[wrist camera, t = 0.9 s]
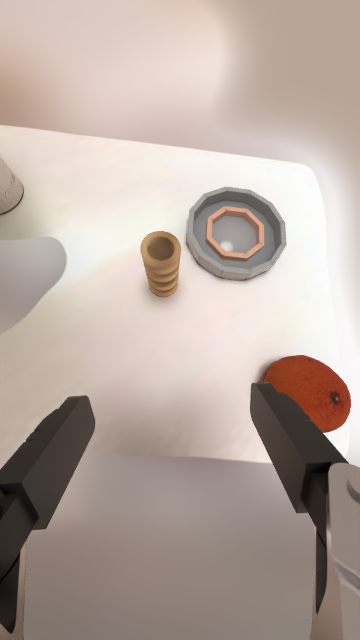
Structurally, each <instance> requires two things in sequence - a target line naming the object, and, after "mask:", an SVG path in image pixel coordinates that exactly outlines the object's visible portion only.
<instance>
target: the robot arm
mask: <svg viewBox="0 0 360 640" xmlns="http://www.w3.org/2000/svg"><path fill="white" fill-rule="evenodd" d="M22 194H23V186H22V184H21V182H20V180H19V179H18V178H17V177H16V175H15V174H14V173H13V172H12V170H11V169H10V168H9V167H8V166H7V164H6V163H5V162H4V161H3V159H2V158H1V157H0V214H1V213H4V212H7V211H8V210H10V209H12V208H13V207H14V206H15V205H16V204H17V203H18V202H19V201H20V199H21V197H22ZM250 413H251V417H252V421H253V423H254V425H255V427H256V429H257V432H258V434H259V436H260V438H261V440H262V442H263V444H264V446H265V448H266V450H267V453H268V455H269V457H270V459H271V461H272V463H273V465H274V467H275V469H276V471H277V474H278V476H279V478H280V480H281V482H282V484H283V486H284V488H285V490H286V492H287V494H288V497H289V499H290V501H291V503H292V505H293V507H294V509H295V511H296V513H309V515H310V517H311V519H312V521H313V523H314V525H315V526H314V552H313V606H312V626H311V634H310V640H360V468H359V467H357V466H354V465H351V464H349V463H348V462H347V461H346V460H345V458H344V457H343V456H342V455H341V454H340V453H339V451H338V450H337V449H336V448H335V447H334V446H333V444H332V443H331V442H330V441H329V440H328V439H327V437H326V436H325V435H324V434H323V433H322V432H321V430H320V429H319V428H318V427H317V426H316V425H315V423H314V422H312V421H311V419H310V418H309V416H308V415H307V414H306V413H304V411H303V409H302V408H301V407H300V406H299V405H298V404H297V402H296V401H295V400H293V399H292V398H291V397H289V396H288V395H286V394H285V393H278V392H277V391H276V390H275V388H274V387H273V386H272V384H271V383H270V382H260V383H252V385H251V400H250ZM94 429H95V418H94V415H93V411H92V408H91V404H90V401H89V398H88V396H86V395H84V396H71V397H68V398H67V399H66V400H65V402H64V403H63V404H62V405H61V406H60V408H59V409H56V410H55V411H53V412H52V413H51V414H49V415H48V416H47V417H46V418H44V419H43V420H42V422H41V423H40V424H39V425H38V426H37V427H36V429H35V430H34V432H32V433H31V434H30V436H29V437H28V438H27V439H26V442H24V443H23V444H22V445H21V446H20V447H19V448H18V450H17V451H16V452H15V453H14V455H13V456H12V457H11V458H10V459H9V460H8V461H7V463H6V464H5V465H4V466H3V467H2V468H1V470H0V640H24V637H23V621H24V598H25V574H26V544H25V541H26V540H27V538H28V536H29V534H30V532H31V530H39V529H46V528H47V526H48V524H49V522H50V520H51V518H52V516H53V514H54V512H55V510H56V508H57V506H58V504H59V501H60V500H61V497H62V496H63V494H64V492H65V490H66V488H67V485H68V483H69V481H70V479H71V477H72V475H73V473H74V471H75V469H76V467H77V465H78V463H79V461H80V459H81V457H82V455H83V453H84V451H85V449H86V447H87V445H88V443H89V441H90V439H91V437H92V435H93V432H94Z"/></svg>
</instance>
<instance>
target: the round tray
mask: <svg viewBox="0 0 360 640" xmlns="http://www.w3.org/2000/svg"><path fill="white" fill-rule="evenodd" d="M186 241H187V243H188V246H189V249H190V251H191V254H192V255H193V257H194V258H195V260H196V261H197V262H198V263H199V264H200V265H201V266H202V267H203V268H204V269H206V270H207V271H208V272H210V273H212V274H214V275H216V276H218V277H221V278H225V279H230V280H244V279H249V278H252V277H255V276H257V275H259V274H261V273H262V272H265V271H267V270H268V269H270V268H271V267H272V266H273V265H274V264H275V262H276V261H277V259H278V257H279V256H280V254H281V253H282V251H283V250H284V248H285V246H286V231H285V222H284V220H283V219H282V217H281V216H280V214H279V213H278V211H277V210H276V208H275V207H274V206H273V204H272V203H271V202H269V201H268V200H266V199H264V198H263V197H261V196H259V195H258V194H256V193H255V192H253V191H251V190H247V189H239V188H232V187H224V188H221V189H217V190H214V191H211V192H208V193H205V194H203V195H202V197H201V198H200V199H199V200H198V201H197V202H196V204H195V205H194V206H193V207H192V208H191V209H190V211H189V218H188V228H187V239H186Z"/></svg>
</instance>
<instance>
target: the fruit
mask: <svg viewBox="0 0 360 640" xmlns="http://www.w3.org/2000/svg"><path fill="white" fill-rule="evenodd" d="M264 382H270V383H271V384H272V386H273V387H274V388H275V390H276V391H277V392H278V393H285V394H286V395H288V396H289V397H291V398H292V399H293V400H295V401H296V402H297V404H298V405H299V406H300V407H301V408H302V409H303V411H304V413H306V414H307V415H308V416H309V418H310V419H311V421H312V422H314V423H315V425H316V426H317V427H318V428H319V429H320V430H321V432H322V433H326V432H330V431H333V430H336V429H337V428H339V427H340V426H342V425H343V424H344V423H345V421H346V419H347V417H348V415H349V413H350V408H351V399H350V393H349V390H348V388H347V385H346V384H345V383H344V381H343V380H342V379H341V378H340V377H339V376H338V375H337V374H336V373H335V372H334V371H333V370H332V369H331V368H330V367H328V366H327V365H325V364H324V363H322V362H320V361H318V360H316V359H313V358H311V357H308V356H304V355H296V356H289V357H284V358H282V359H280V360H278V361H276V362H274V363H273V364H272V365H271V366H270V367H269V369H268V371H267V373H266V375H265V378H264Z"/></svg>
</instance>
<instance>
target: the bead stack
mask: <svg viewBox="0 0 360 640" xmlns="http://www.w3.org/2000/svg"><path fill="white" fill-rule="evenodd" d="M141 254H142V258H143V262H144V266H145V270H146V274H147V278H148V282H149V286H150V289H151V291H152V292H153V293H154V294H155V295H157V296H161V297H166V296H169V295H171V294H172V293H174V291H175V290H176V288H177V281H178V271H179V263H180V254H181V246H180V243H179V241H178V239H177V238H176V237H175V236H174V235H172V234H170V233H168V232H164V231H157V232H153V233H150V234H149V235H147V236H146V237H145V238H144V239H143V241H142V243H141Z"/></svg>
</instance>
